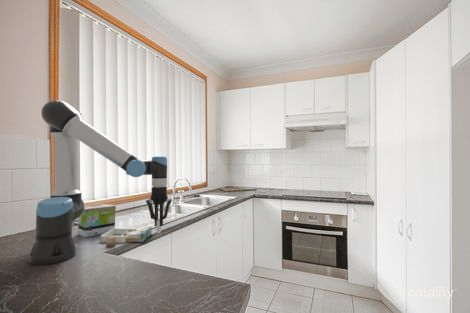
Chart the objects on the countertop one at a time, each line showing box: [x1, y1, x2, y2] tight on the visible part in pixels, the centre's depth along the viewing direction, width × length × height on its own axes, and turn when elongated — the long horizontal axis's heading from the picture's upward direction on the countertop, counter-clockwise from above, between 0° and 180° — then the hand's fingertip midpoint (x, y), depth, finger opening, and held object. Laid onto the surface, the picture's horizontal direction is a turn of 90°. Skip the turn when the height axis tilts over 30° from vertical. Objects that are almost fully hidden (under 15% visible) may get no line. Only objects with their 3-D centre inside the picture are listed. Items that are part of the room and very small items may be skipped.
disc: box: [127, 230, 142, 238], centre depth 122 cm, size 7×7×2 cm
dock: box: [99, 227, 137, 244], centre depth 122 cm, size 14×12×3 cm
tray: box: [120, 226, 152, 243], centre depth 122 cm, size 13×12×4 cm
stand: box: [105, 237, 116, 248], centre depth 111 cm, size 4×4×4 cm
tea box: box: [77, 203, 117, 238], centre depth 130 cm, size 15×10×15 cm, turn 143°
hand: (158, 232), depth 123 cm, fingers closed
